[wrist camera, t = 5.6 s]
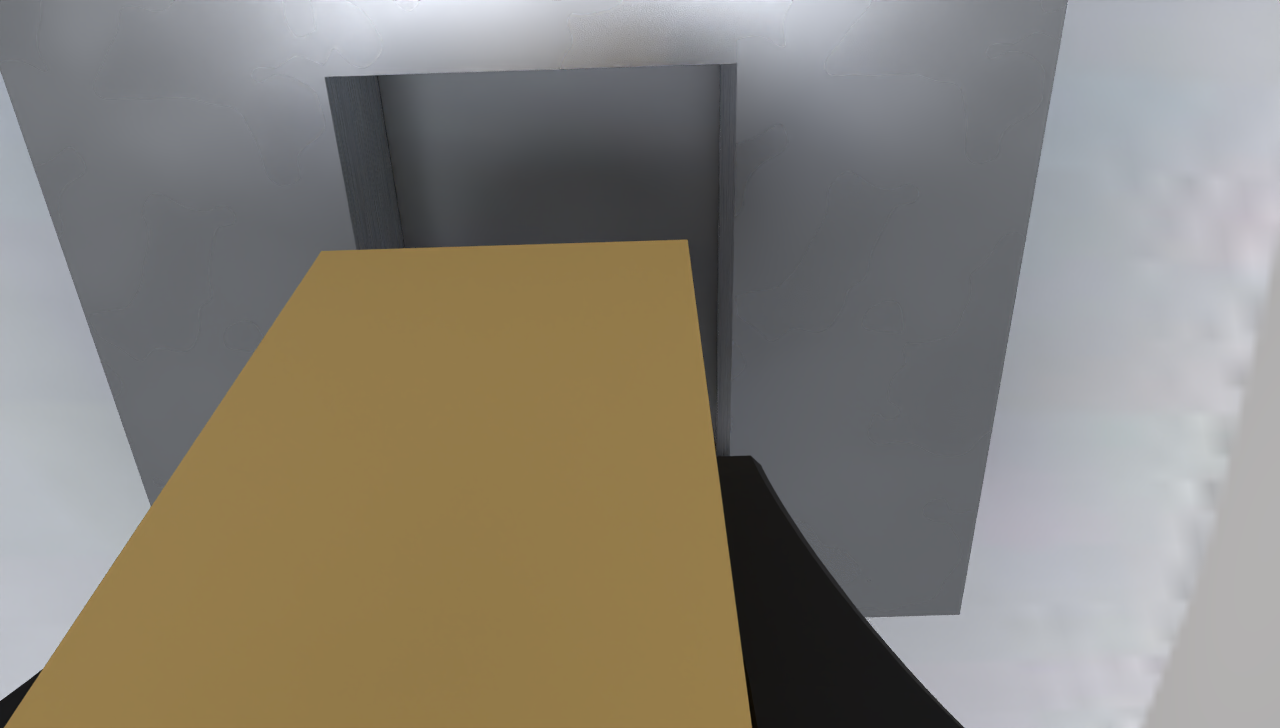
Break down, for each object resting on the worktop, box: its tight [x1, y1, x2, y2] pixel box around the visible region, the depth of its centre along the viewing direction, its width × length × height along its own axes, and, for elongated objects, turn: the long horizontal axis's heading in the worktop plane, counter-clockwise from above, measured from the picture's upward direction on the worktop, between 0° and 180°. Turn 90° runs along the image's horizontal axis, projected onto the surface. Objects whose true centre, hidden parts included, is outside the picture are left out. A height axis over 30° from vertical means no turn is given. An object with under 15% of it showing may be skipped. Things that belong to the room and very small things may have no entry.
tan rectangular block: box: [4, 240, 752, 728], centre depth 9 cm, size 6×4×8 cm, turn 2°
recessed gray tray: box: [0, 0, 1068, 617], centre depth 15 cm, size 13×13×2 cm
